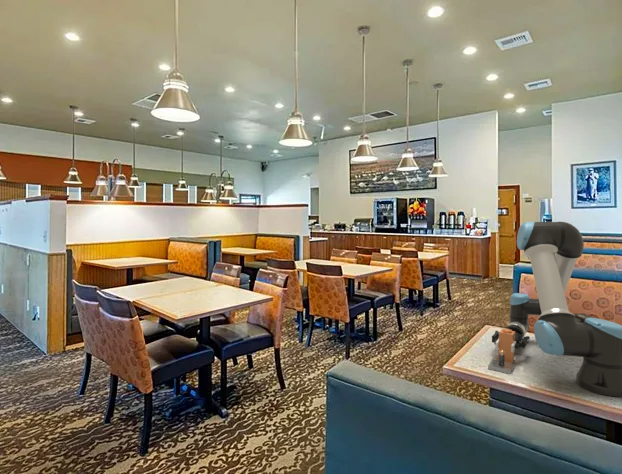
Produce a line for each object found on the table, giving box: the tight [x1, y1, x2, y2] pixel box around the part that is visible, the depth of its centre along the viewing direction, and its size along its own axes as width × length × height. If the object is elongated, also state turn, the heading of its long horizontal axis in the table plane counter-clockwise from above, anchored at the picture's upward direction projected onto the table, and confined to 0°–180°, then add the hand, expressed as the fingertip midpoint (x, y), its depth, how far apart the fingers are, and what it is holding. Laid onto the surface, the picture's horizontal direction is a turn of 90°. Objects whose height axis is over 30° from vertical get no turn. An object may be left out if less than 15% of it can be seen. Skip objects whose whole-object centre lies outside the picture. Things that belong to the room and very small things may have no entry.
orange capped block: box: [497, 328, 515, 363], centre depth 155 cm, size 5×5×13 cm
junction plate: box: [487, 349, 516, 375], centre depth 148 cm, size 8×8×7 cm
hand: (504, 347), depth 151 cm, fingers closed on orange capped block, 5 cm apart
